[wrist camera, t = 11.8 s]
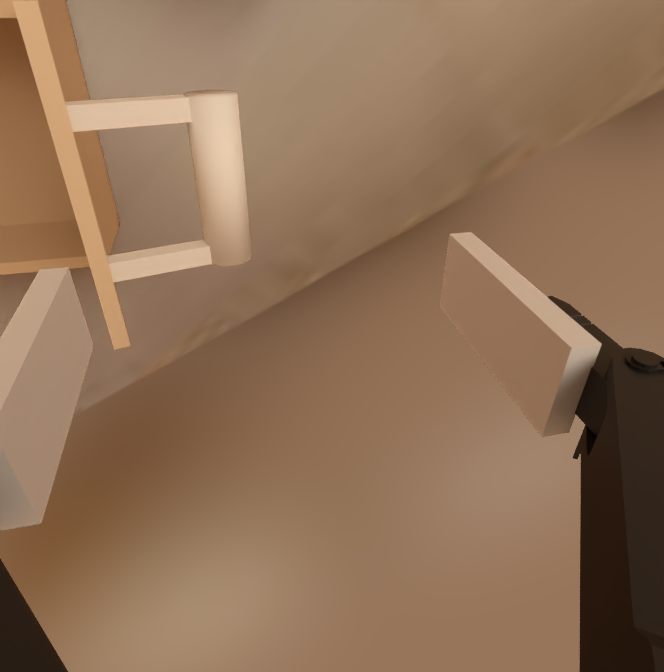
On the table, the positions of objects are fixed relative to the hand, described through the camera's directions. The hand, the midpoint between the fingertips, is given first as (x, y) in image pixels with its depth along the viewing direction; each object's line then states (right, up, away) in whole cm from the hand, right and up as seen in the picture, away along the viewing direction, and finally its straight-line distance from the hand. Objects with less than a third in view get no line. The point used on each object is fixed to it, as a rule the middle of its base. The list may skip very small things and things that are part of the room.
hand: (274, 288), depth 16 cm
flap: (-12, +6, +9) cm, 16 cm away
